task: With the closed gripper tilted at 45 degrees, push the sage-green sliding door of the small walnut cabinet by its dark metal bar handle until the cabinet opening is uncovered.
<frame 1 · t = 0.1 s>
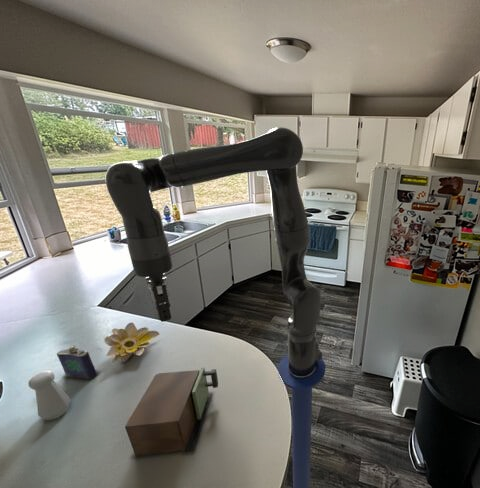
hand: (163, 311, 63), 28 cm above the table, tool pointing down, fingers open, 8 cm apart
sliding door: (207, 392, 67), point 6 cm above the table, slide at 0.0 cm
decorative flower: (133, 352, 87), on the table
flask: (82, 374, 78), on the table
salt shaker: (57, 413, 66), on the table
cabinet: (173, 422, 65), on the table
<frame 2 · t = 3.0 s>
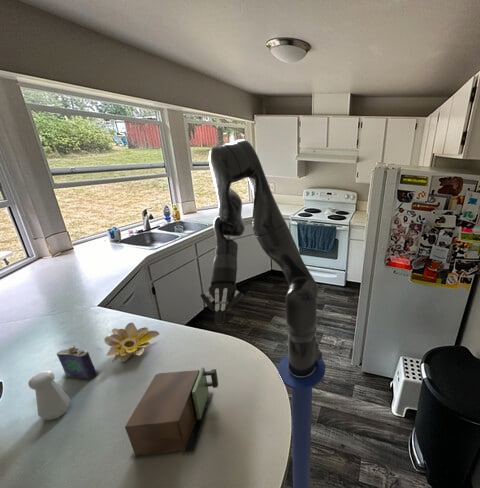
hand: (219, 324, 75), 18 cm above the table, tool tilted 45°, fingers closed
nothing on the table moved.
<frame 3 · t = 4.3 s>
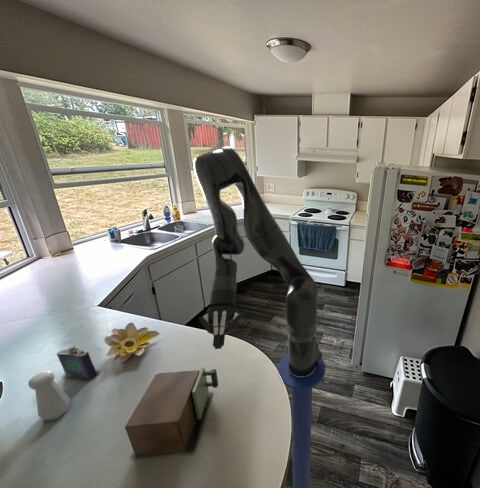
hand: (218, 348, 74), 12 cm above the table, tool tilted 45°, fingers closed
nothing on the table moved.
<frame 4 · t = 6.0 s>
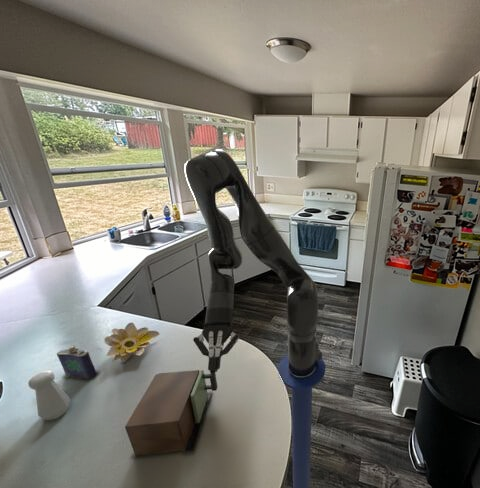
hand: (213, 372, 69), 9 cm above the table, tool tilted 45°, fingers closed
sliding door: (206, 395, 66), point 6 cm above the table, slide at 1.0 cm, touching gripper
everything else where it was.
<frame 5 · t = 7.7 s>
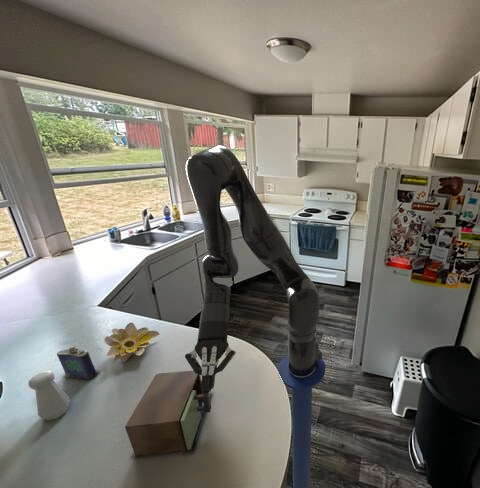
hand: (207, 392, 63), 9 cm above the table, tool tilted 45°, fingers closed
sliding door: (198, 418, 61), point 6 cm above the table, slide at 7.1 cm, touching gripper
everything else where it was.
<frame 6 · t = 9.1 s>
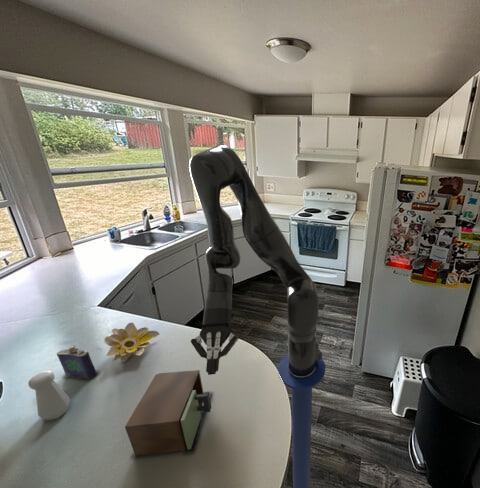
hand: (212, 374, 67), 10 cm above the table, tool tilted 45°, fingers closed
sliding door: (198, 418, 61), point 6 cm above the table, slide at 7.0 cm
everything else where it was.
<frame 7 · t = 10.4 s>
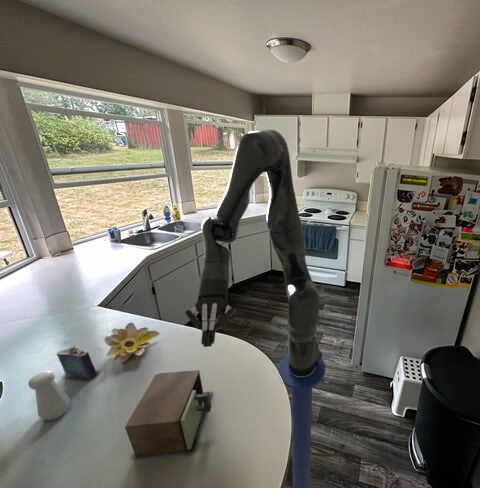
hand: (207, 346, 64), 20 cm above the table, tool tilted 45°, fingers closed
nothing on the table moved.
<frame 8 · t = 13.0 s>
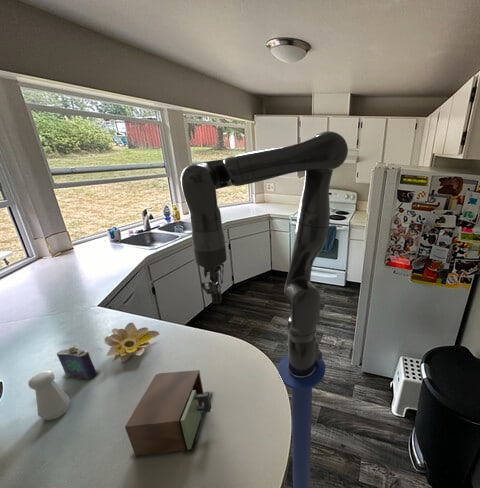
hand: (217, 302, 70), 27 cm above the table, tool pointing down, fingers closed
nothing on the table moved.
at the end: sliding door slide at 7.0 cm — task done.
